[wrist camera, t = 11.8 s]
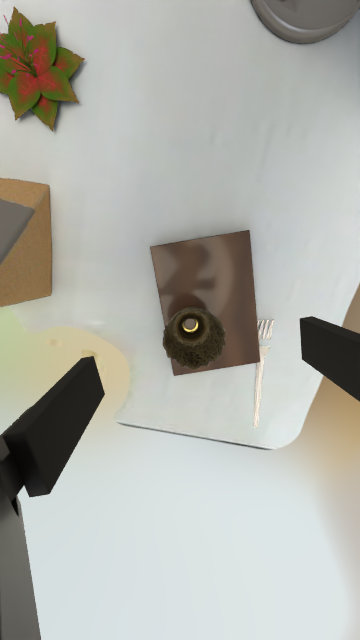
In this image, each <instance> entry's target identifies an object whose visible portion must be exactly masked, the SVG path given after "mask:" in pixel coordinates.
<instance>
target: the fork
mask: <svg viewBox="0 0 360 640" xmlns="http://www.w3.org/2000/svg"><path fill="white" fill-rule="evenodd" d="M259 322H260V320H258V322H257V327H258V325H259ZM268 322H269V319H268V320H267V322H266V324H265V326H264V330H263V337H262V339H263V340H264V339H265V334H266V329H267V325H268ZM273 322H274V319H273V320H272V322H271V324H270V326H269V329H268V332H267V339H271V333H272V327H273ZM263 323H264V320H262V323H261V325H260V328H259V332H258V339H259V340H260V338H261V332H262V327H263ZM269 348H270V347H259V351H260V362H258V363H257V369H256V386H255V402H254V419H253V426H254V427H258V419H259V408H260V397H261V386H262V375H263V364H264V358H265V356H266V354H267V353H268V351H269Z"/></svg>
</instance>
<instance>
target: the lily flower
mask: <svg viewBox="0 0 360 640" xmlns="http://www.w3.org/2000/svg"><path fill="white" fill-rule="evenodd" d="M3 15H4V14H3ZM4 17H5V16H4ZM5 20H6V18H5ZM6 22H7V21H6ZM55 23H56V21H55V22H53V23H46V24H45V25H43V24H39V25H35V26H34V27H33V25H32V24H31V23H30V22H29V20H28V19H27V18H26V17H24V16H23V15H22V14H21V13H18V11H17V9H16V8H15V7H14V11H13V14H12V20H10V23H9V25H8V26H9V28H8V31H9V32H8V34H4V33H3V34H1V33H0V92H2V93H4V94H7V95H9V99H10V103H11V106H12V109H13V111H14V112H15V120H17V119H18V118H19V117H20V116H21V115H22V114H23V113H25V112H26V111H27V110H28V109H30V108H31V109H32V111H33V112H34V114H35V115H36V116H37V117H38V118H39V119H40V120H41V121H42V122H43V123H44V124H46V125H48V126H49V128H50V129H51V130H52V132H53V127H54V119H55V118H56V113H57V106H58V100H61V101H69V102H70V101H74V102H77V103H79V102H78V100H77V99H76V96H75V94H74V92H73V91H72V89H71V88H72V87H71V85H70V83H69V81H68V79H69V78H70V77H71V76H72V75H73V73H74V72H75V71H76V70H77V68H78V67H79V64H80V63H81V62H82V61H83V60H85V59H84V58H81V57H80V56H78V55H76V54H73V52H72V51H70V50H68V49H66V48H62V47H56V30H55V28H54V27H55ZM7 24H8V23H7Z"/></svg>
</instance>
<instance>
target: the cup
mask: <svg viewBox="0 0 360 640" xmlns="http://www.w3.org/2000/svg"><path fill="white" fill-rule="evenodd" d="M187 319H193V320H194V321H195V323H196V324H195V327H194V328H193V329H188V328H186V327H185V321H186V320H187ZM225 337H226V331H225V329H224V327H223V325H222V322H221V321H220V320H219V319H218V318H216V317H215V316H214V315H213V314H212V313H210V312H209V311H206V310H204V309H201V308H198V307H188V308H184V309H182V310H180V311H178V312H177V313H176V314H175V315H174V316H173V317H172V318H171V319H170V321H169V322H168V324H167V326H166V328H165V330H164V337H163V347H164V349H165V350H166V354H167V356H168V358H173V359H174V360H176V361H177V362H178V363H179V366H180V367H185V366H186V367H187V368H189V369H192V370H196V369H198V368H199V367H201V366H204V367H208V364H209V361H211V362H215V361H217V359H218V357H219V356H221V353H222V347H224V346H225V345H226V343H225Z"/></svg>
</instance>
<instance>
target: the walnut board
mask: <svg viewBox="0 0 360 640" xmlns="http://www.w3.org/2000/svg"><path fill="white" fill-rule="evenodd" d="M150 249H151V254H152V260H153V265H154V271H155V276H156V282H157V287H158V292H159V298H160V303H161V309H162V314H163V319H164V325H165V328H166V326H167V324H168V322H169V321H170V319H171V318H172V317H173V316H174V315H175V314H176V313H177V312H178V311H180V310H182V309H184V308H188V307H198V308H201V309H204V310H206V311H209V312H210V313H212V314H213V315H214V316H215V317H216V318H218V319H219V320H220V321H221V322H222V325H223V327H224V329H225V331H226V337H225V343H226V345H225V346H224V347H222V353H221V356H219V357H218V359H217V361H215V362H211V361H209V364H208V367H204V366H201V367H199V368H198V369H196V370H192V369H189V368H187V367H186V366H185V367H180V366H179V363H178V362H177V361H176V360H174V359H173V358H171V363H172V368H173V374H174V376H177V375H183V374H189V373H195V372H202V371H208V370H214V369H220V368H226V367H233V366H239V365H245V364H251V363H258V362H260V351H259V339H258V327H257V315H256V303H255V291H254V279H253V267H252V255H251V243H250V231H249V230H247V231H241V232H235V233H229V234H223V235H217V236H211V237H205V238H199V239H193V240H187V241H181V242H176V243H170V244H164V245H158V246H152V247H150ZM195 324H196V323H195V321H194V320H193V319H187V320H186V321H185V327H186V328H188V329H193V328H194V327H195Z"/></svg>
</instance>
